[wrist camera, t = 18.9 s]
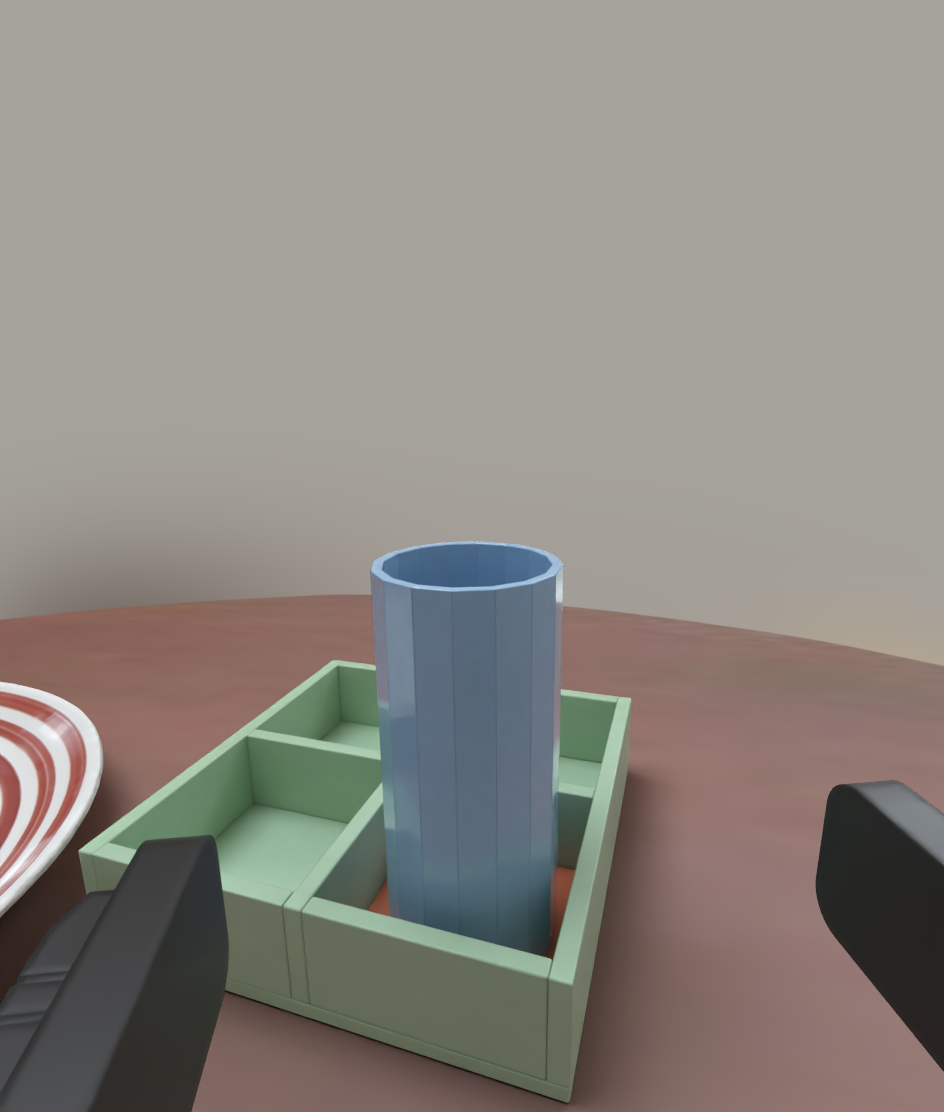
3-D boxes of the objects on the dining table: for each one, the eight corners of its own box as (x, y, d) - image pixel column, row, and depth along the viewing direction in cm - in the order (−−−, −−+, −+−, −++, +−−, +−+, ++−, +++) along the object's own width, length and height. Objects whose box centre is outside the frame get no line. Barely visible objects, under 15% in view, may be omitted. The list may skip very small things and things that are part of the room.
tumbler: (362, 968, 19) (335, 580, 16) (428, 853, 24) (417, 537, 21) (533, 1018, 18) (538, 598, 15) (567, 884, 22) (576, 547, 19)
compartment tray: (95, 948, 21) (76, 850, 20) (337, 722, 35) (333, 659, 34) (569, 1105, 16) (573, 985, 15) (628, 770, 30) (631, 698, 29)
